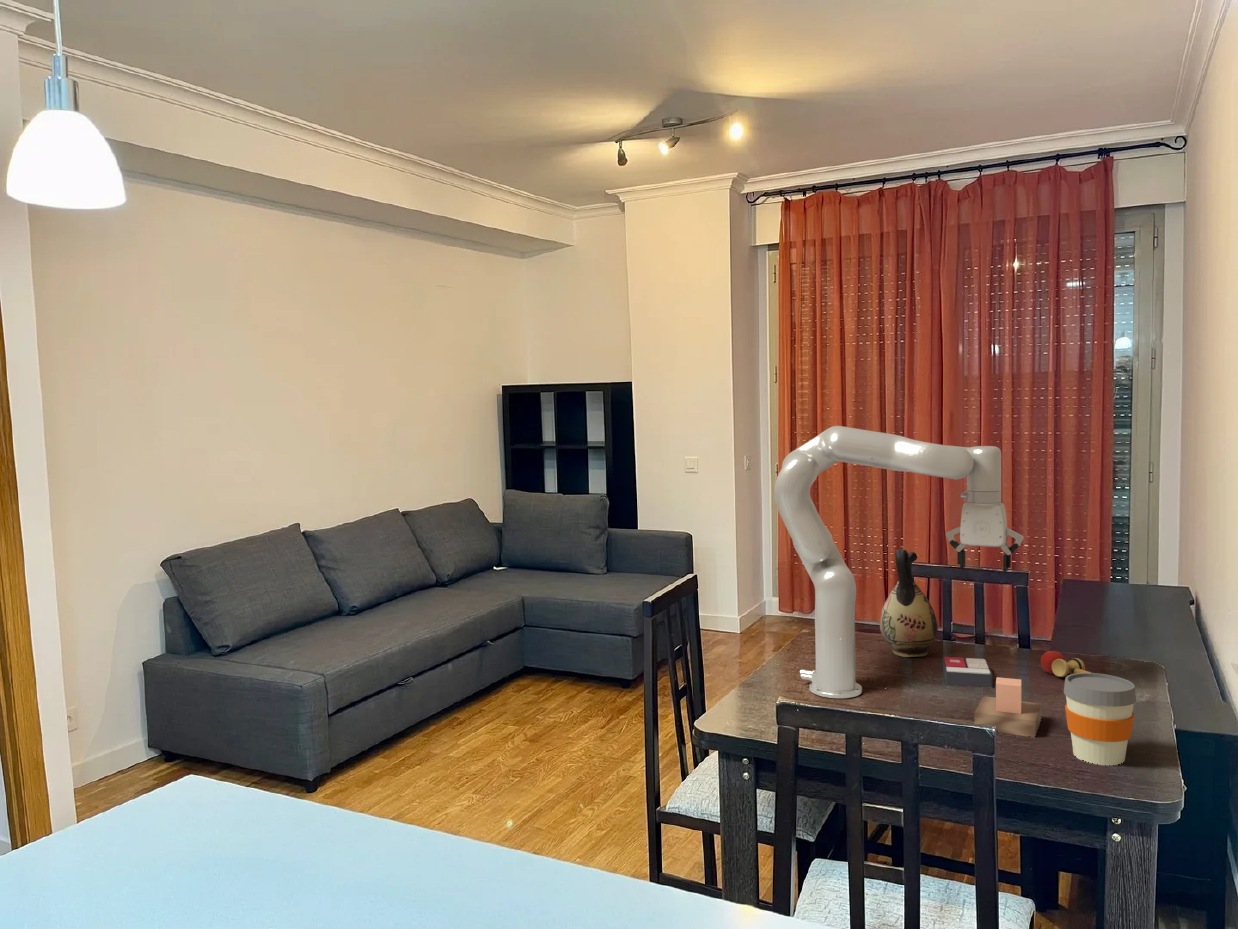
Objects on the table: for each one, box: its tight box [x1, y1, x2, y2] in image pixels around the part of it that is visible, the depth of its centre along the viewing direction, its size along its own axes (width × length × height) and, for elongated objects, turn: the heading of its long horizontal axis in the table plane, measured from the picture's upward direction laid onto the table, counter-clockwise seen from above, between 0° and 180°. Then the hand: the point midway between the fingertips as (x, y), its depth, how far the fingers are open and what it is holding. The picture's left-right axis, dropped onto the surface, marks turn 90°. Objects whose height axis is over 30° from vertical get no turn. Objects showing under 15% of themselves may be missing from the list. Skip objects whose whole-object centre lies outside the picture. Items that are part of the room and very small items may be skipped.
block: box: [995, 676, 1022, 714], centre depth 194 cm, size 5×5×6 cm
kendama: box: [1040, 650, 1092, 678], centre depth 223 cm, size 8×6×18 cm
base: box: [973, 695, 1043, 738], centre depth 195 cm, size 12×12×4 cm
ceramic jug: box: [879, 548, 939, 658], centre depth 249 cm, size 17×15×30 cm
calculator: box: [941, 656, 994, 688], centre depth 228 cm, size 11×4×15 cm
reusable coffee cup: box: [1063, 672, 1137, 766], centre depth 175 cm, size 13×13×15 cm
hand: (983, 569), depth 213 cm, fingers open, 9 cm apart
